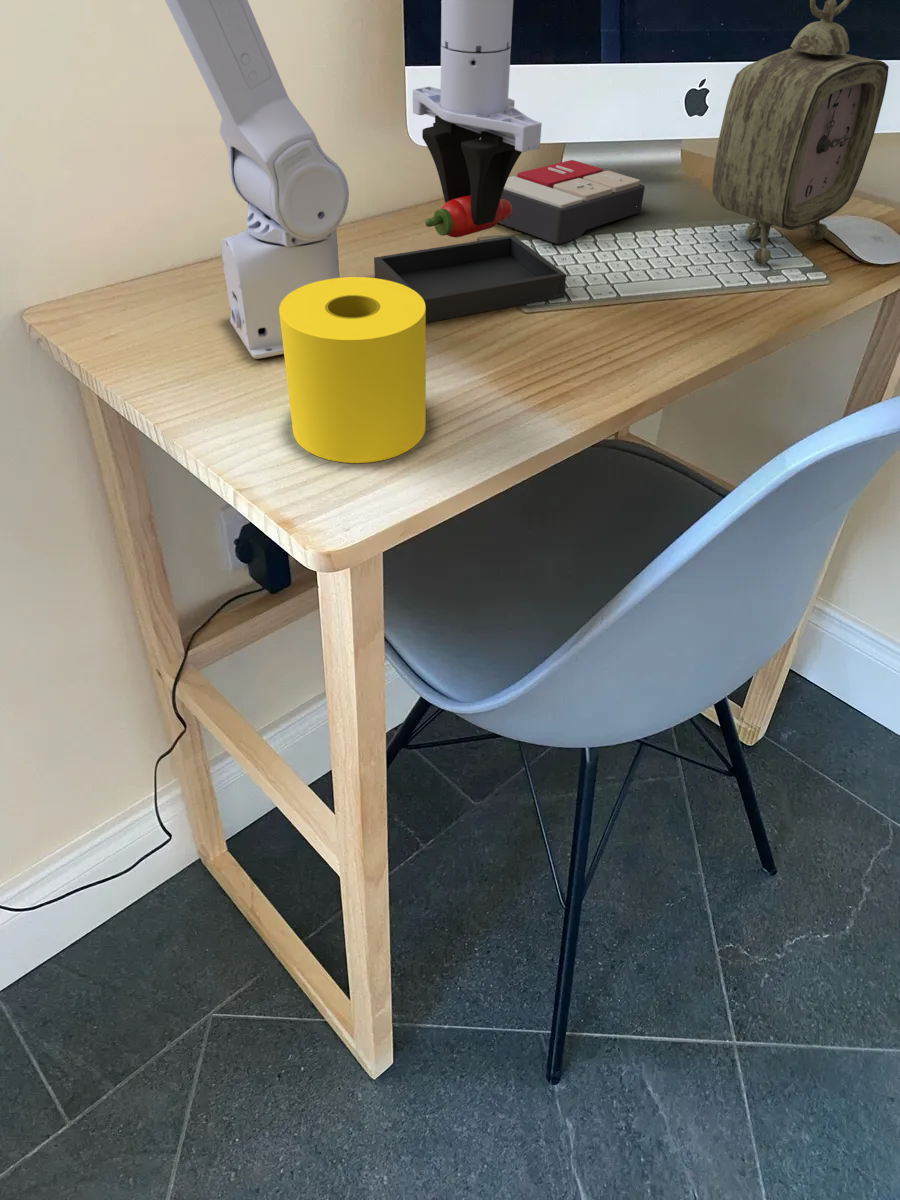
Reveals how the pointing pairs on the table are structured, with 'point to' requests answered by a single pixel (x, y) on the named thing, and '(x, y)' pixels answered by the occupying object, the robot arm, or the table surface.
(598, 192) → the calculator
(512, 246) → the tray
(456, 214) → the chili
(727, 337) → the table surface
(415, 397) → the yellow toilet paper roll
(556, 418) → the table surface
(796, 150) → the tabletop clock
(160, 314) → the table surface
